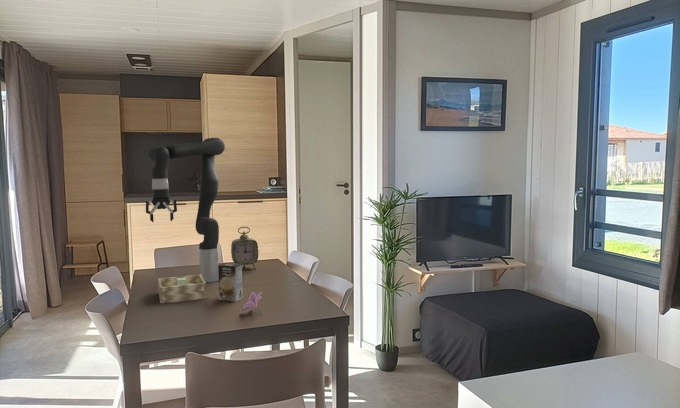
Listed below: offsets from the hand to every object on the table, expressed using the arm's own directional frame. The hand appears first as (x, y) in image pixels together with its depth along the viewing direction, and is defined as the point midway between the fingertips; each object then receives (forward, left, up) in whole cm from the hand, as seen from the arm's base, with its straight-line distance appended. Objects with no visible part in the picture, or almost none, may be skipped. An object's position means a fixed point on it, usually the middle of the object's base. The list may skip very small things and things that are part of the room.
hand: (162, 221), depth 247 cm
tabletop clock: (-46, -32, -34) cm, 66 cm away
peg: (-7, +15, -34) cm, 38 cm away
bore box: (-7, +15, -34) cm, 38 cm away
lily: (-31, +57, -34) cm, 73 cm away
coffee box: (-27, +31, -34) cm, 53 cm away
